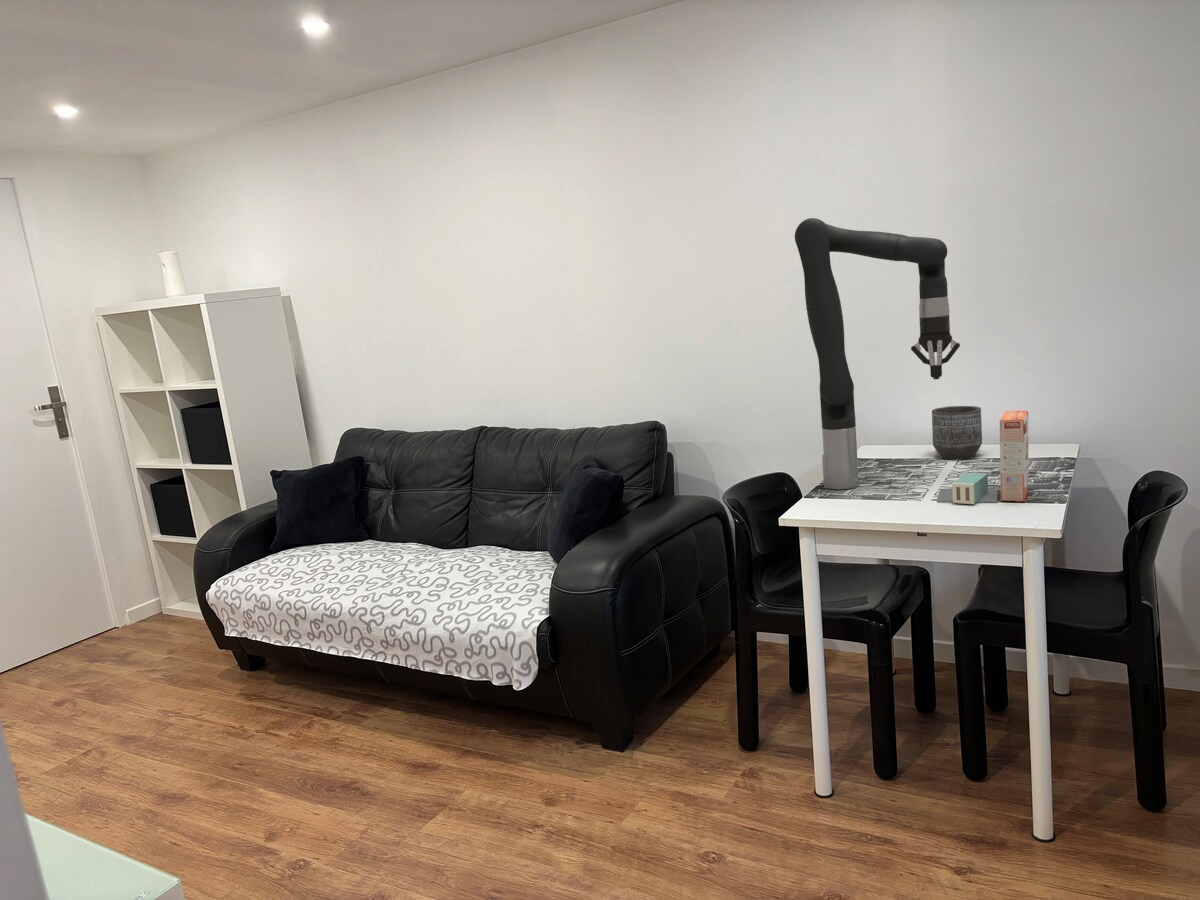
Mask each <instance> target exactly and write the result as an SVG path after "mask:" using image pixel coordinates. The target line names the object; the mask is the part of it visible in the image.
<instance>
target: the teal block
mask: <svg viewBox="0 0 1200 900" xmlns="http://www.w3.org/2000/svg"><path fill="white" fill-rule="evenodd" d="M988 478H989V477H988V473H977V472H974V473H973V472H967V473H965V474H964V475H962V476H961V477H960V478H958V479H957V480H955V481H953V482H952V483H951V485H952V488H951V489H952V491H953V503H952V504H964V505H965V504H967V505H974V504H977V503H976V502H977V501H978V500H980V499H981V498H982V497H983V496H985V495H986V494H987V493H988V489H989V483H988Z"/></svg>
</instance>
